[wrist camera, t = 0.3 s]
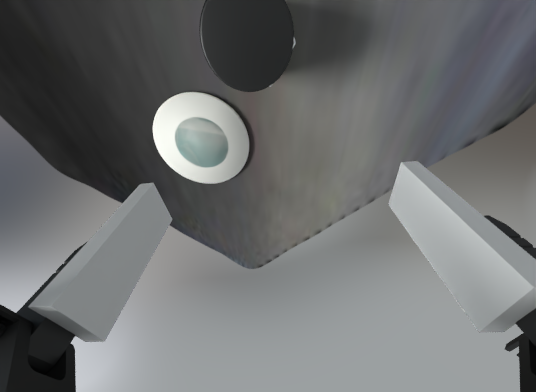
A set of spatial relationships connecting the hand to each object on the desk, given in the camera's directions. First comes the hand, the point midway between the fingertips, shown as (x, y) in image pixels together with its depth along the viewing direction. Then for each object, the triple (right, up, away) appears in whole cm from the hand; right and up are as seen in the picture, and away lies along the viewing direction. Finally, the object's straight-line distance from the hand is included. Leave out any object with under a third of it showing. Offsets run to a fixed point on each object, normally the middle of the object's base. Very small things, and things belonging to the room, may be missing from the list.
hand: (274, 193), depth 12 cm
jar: (-2, +21, +16) cm, 26 cm away
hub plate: (-12, +9, +24) cm, 29 cm away
